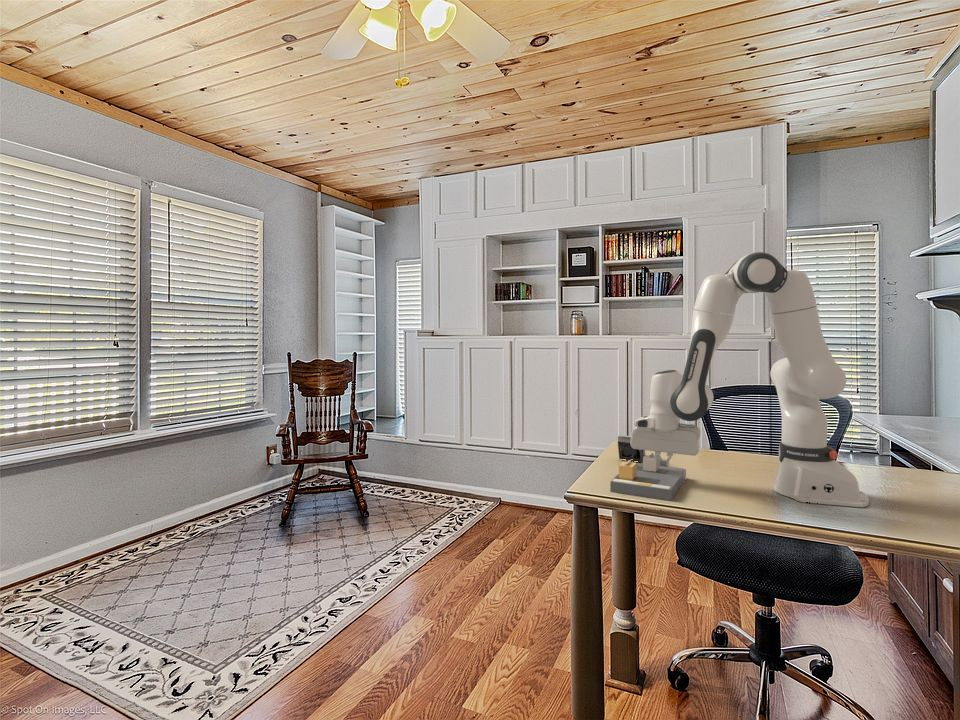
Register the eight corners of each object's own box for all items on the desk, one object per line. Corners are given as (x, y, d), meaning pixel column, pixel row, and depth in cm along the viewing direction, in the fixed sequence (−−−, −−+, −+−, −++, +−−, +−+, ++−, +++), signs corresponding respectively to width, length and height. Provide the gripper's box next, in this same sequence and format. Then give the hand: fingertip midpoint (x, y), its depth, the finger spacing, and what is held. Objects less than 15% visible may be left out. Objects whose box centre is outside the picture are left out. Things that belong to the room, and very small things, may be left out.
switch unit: (685, 478, 167) (686, 467, 166) (670, 500, 146) (670, 489, 146) (632, 471, 175) (632, 461, 175) (610, 491, 155) (610, 480, 155)
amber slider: (636, 475, 159) (636, 461, 159) (632, 480, 155) (632, 465, 154) (623, 474, 161) (623, 459, 161) (618, 478, 157) (618, 463, 157)
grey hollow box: (646, 461, 188) (645, 436, 186) (642, 465, 183) (641, 440, 182) (620, 457, 193) (619, 433, 191) (615, 462, 189) (615, 437, 187)
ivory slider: (659, 467, 167) (659, 453, 167) (656, 471, 163) (656, 457, 163) (646, 466, 169) (646, 452, 169) (642, 470, 165) (642, 455, 165)
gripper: (702, 423, 160) (701, 467, 161) (634, 417, 171) (634, 459, 172) (698, 427, 155) (697, 473, 156) (629, 421, 165) (628, 464, 166)
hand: (663, 465), depth 164 cm, fingers closed
